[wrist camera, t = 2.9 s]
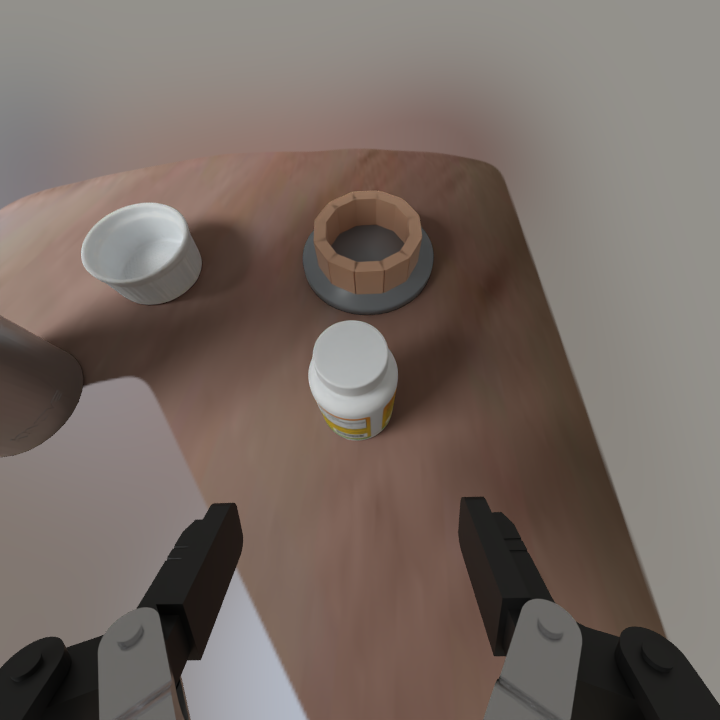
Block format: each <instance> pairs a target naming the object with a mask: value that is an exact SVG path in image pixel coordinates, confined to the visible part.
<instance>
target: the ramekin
mask: <svg viewBox="0 0 720 720" xmlns="http://www.w3.org/2000/svg"><path fill="white" fill-rule="evenodd" d="M81 258H82V262H83V265H84V267H85V268H86V270H87V271H88V272H89V273H90V274H91V275H92V276H94V277H95V278H97V279H99V280H100V281H102V282H104V283H106V284H108V285H109V286H110V287H112V288H113V289H115V290H116V291H117V292H118V293H120V294H121V295H122V296H124V297H125V298H127V299H129V300H131V301H133V302H136V303H139V304H146V305H155V304H161V303H165V302H168V301H171V300H173V299H175V298H177V297H179V296H181V295H182V294H184V293H185V292H186V291H187V290H189V289H190V288H191V287H192V286H193V284H194V283H195V282H196V280H197V279H198V277H199V274H200V272H201V267H202V260H201V256H200V253H199V250H198V248H197V246H196V244H195V242H194V240H193V238H192V236H191V234H190V230H189V227H188V224H187V222H186V220H185V218H184V217H183V215H182V214H181V213H180V212H179V211H177V210H176V209H174V208H172V207H170V206H168V205H164V204H159V203H139V204H134V205H130V206H126V207H123V208H121V209H118V210H116V211H114V212H112V213H110V214H109V215H107V216H105V217H104V218H103V219H101V220H100V221H99V222H98V223H97V224H96V225H95V226H94V227H93V228H92V229H91V230H90V232H89V233H88V234H87V236H86V238H85V240H84V242H83V245H82V249H81Z"/></svg>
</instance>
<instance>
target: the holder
mask: <svg viewBox="0 0 720 720" xmlns="http://www.w3.org/2000/svg"><path fill="white" fill-rule="evenodd" d="M432 265H433V248H432V244H431V242H430V239H429V237H428V235H427V234H426V232H425V231H424V230H423V228H422V227H421V224H420V216H419V215H418V214H417V213H416V212H415V211H414V209H413V208H412V207H411V206H410V205H409V204H408V203H407V202H406V201H405V200H404V199H402V198H399V197H397V196H394V195H391V194H388V193H385V192H382V191H379V192H378V190H376V191H356V192H353V193H352V192H350V193H348V194H346V195H344V196H341V197H339V198H337V199H335V200H333V201H331V202H329V203H328V204H327V205H326V206H325V208H324V209H323V210H322V211H321V213H320V214H319V215H318V217H317V218H316V219H315V221H314V230H313V232H312V233H311V234H310V236H309V238H308V240H307V242H306V244H305V247H304V251H303V266H304V270H305V274H306V277H307V280H308V283H309V285H310V286H311V288H312V290H313V291H314V292H315V293H316V295H317V296H318V297H319V298H321V299H322V300H323V301H324V302H326V303H327V304H328V305H330V306H332V307H334V308H336V309H339V310H341V311H344V312H348V313H352V314H359V315H375V314H382V313H387V312H390V311H393V310H396V309H398V308H400V307H402V306H404V305H406V304H408V303H409V302H411V301H412V300H413V299H414V298H416V297H417V296H418V295H419V293H420V292H421V291H422V290H423V289H424V287H425V286H426V284H427V282H428V280H429V277H430V273H431V270H432Z"/></svg>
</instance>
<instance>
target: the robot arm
mask: <svg viewBox="0 0 720 720" xmlns="http://www.w3.org/2000/svg"><path fill="white" fill-rule="evenodd" d="M82 388H83V374H82V369H81V367H80V365H79V363H78V361H77V360H76V359H75V358H74V357H73V356H72V355H71V354H69V353H67V352H66V351H64V350H62V349H60V348H58V347H57V346H55V345H53V344H51V343H49V342H47V341H46V340H44V339H42V338H40V337H38V336H36V335H35V334H33V333H31V332H29V331H28V330H26V329H24V328H22V327H20V326H19V325H17V324H15V323H13V322H11V321H9V320H8V319H6V318H4V317H2V316H0V457H7V456H14V455H17V454H20V453H23V452H26V451H29V450H31V449H32V448H34V447H36V446H38V445H40V444H42V443H43V442H44V441H46V440H47V439H49V438H50V437H51V436H53V434H55V433H56V432H57V431H58V430H59V429H60V428H61V427H62V426H63V425H64V424H65V422H66V421H67V420H68V418H69V417H70V416H71V415H72V413H73V411H74V409H75V408H76V406H77V404H78V402H79V399H80V396H81V393H82ZM458 534H459V543H460V548H461V552H462V555H463V558H464V561H465V564H466V568H467V571H468V574H469V577H470V581H471V584H472V587H473V590H474V593H475V597H476V600H477V603H478V606H479V610H480V613H481V616H482V619H483V622H484V626H485V629H486V632H487V635H488V639H489V642H490V645H491V648H492V651H493V655H494V656H506V660H505V663H504V666H503V669H502V672H501V675H500V677H499V679H497V681H496V683H495V686H494V689H493V692H492V695H491V698H490V701H489V704H488V707H487V710H486V713H485V716H484V719H483V720H720V705H719V703H718V702H717V701H716V699H715V698H714V696H713V695H712V694H711V692H710V691H709V689H708V688H707V686H706V685H705V684H704V682H703V681H702V679H701V678H700V677H699V675H698V674H697V672H696V671H695V670H694V668H693V667H692V665H691V664H690V662H689V661H688V660H687V658H686V657H685V656H684V654H683V653H682V652H681V651H680V650H679V649H678V648H677V647H676V646H675V645H674V644H672V643H671V642H670V641H669V640H667V639H666V638H664V637H663V636H661V635H660V634H658V633H656V632H654V631H651V630H649V629H646V628H642V627H629V628H626V629H625V630H623V632H622V633H621V635H620V637H617V636H614V635H611V634H607V633H604V632H601V631H597V630H594V629H591V628H588V627H585V626H583V625H581V624H579V623H577V622H576V621H575V620H574V619H573V618H572V616H571V615H570V614H569V613H568V612H567V611H566V610H564V609H563V608H562V607H560V606H559V605H557V604H556V603H555V602H554V600H553V599H552V597H551V595H550V593H549V591H548V589H547V587H546V585H545V583H544V581H543V579H542V578H541V576H540V574H539V572H538V570H537V568H536V566H535V564H534V562H533V560H532V558H531V556H530V554H529V553H528V552H527V549H526V547H525V545H524V543H523V541H521V537H520V535H519V533H518V531H517V529H516V527H515V525H514V524H513V523H512V522H511V521H510V520H509V519H508V518H507V517H506V516H505V515H504V514H503V513H502V512H493V513H492V512H491V510H490V508H489V506H488V504H487V501H486V499H485V498H484V497H462V498H461V502H460V515H459V529H458ZM242 547H243V533H242V529H241V524H240V519H239V514H238V510H237V506H236V504H235V503H214V504H212V505H211V506H210V508H209V510H208V511H207V513H206V515H205V517H204V519H203V520H195V521H194V522H193V523H192V524H191V525H190V526H189V527H188V528H186V529H185V531H183V533H182V534H181V536H180V537H179V539H178V541H177V542H176V544H175V546H174V549H172V551H171V552H170V554H169V556H168V558H167V561H165V563H164V564H163V566H162V567H161V569H160V571H159V572H158V574H157V576H156V577H155V579H154V581H153V582H152V585H151V586H150V587H149V589H148V591H147V592H146V594H145V596H144V597H143V599H142V601H141V602H140V604H139V606H138V607H137V609H135V610H133V611H130V612H128V613H127V614H125V615H123V616H122V617H121V618H119V619H118V620H117V621H116V622H115V623H113V624H112V625H111V627H110V628H109V629H108V630H107V631H106V633H105V634H104V635H102V636H100V637H97V638H94V639H91V640H88V641H85V642H82V643H79V644H76V645H73V646H70V647H67V648H66V647H65V645H64V643H63V641H62V640H61V639H60V638H58V637H46V638H43V639H39V640H37V641H35V642H33V643H31V644H29V645H27V646H26V647H24V648H23V649H21V650H20V651H19V652H17V653H16V654H15V655H13V657H11V658H10V659H9V660H8V661H7V662H6V663H5V664H4V665H3V666H2V667H1V668H0V720H191V719H190V714H189V710H188V706H187V700H186V696H185V692H184V687H183V682H182V678H181V674H182V671H183V669H184V667H185V664H186V662H187V660H201V658H202V655H203V653H204V650H205V648H206V645H207V642H208V640H209V637H210V634H211V632H212V629H213V626H214V624H215V621H216V618H217V616H218V613H219V611H220V608H221V605H222V602H223V600H224V597H225V595H226V592H227V589H228V587H229V584H230V581H231V579H232V576H233V574H234V571H235V568H236V566H237V563H238V560H239V558H240V555H241V552H242Z"/></svg>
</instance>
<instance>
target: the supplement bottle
mask: <svg viewBox="0 0 720 720" xmlns="http://www.w3.org/2000/svg"><path fill="white" fill-rule="evenodd" d="M308 377H309V385H310V388H311V391H312V394H313V396H314V398H315V400H316V402H317V404H318V406H319V408H320V410H321V412H322V414H323V416H324V418H325V420H326V422H327V424H328V425H329V427H330V428H331V429H332V430H333V431H334V432H335V433H337V434H338V435H340V436H341V437H344V438H346V439H350V440H365V439H369V438H372V437H374V436H375V435H377V434H378V433H380V432H381V431H382V430H383V429H384V428H385V427H386V425H387V424H388V422H389V420H390V418H391V415H392V411H393V405H394V399H395V394H396V389H397V382H398V368H397V364H396V361H395V358H394V356H393V354H392V353H391V351H390V350H389V349H388V346H387V343H386V340H385V338H384V337H383V335H382V334H381V333H380V332H379V331H378V330H377V329H376V328H375V327H373V326H372V325H370V324H368V323H365V322H362V321H356V320H347V321H342V322H338V323H336V324H333V325H332V326H330V327H328V328H327V329H326V330H325V331H324V332H323V333H322V334H321V335H320V336H319V337H318V339H317V341H316V343H315V346H314V349H313V358H312V360H311V363H310V366H309V374H308Z"/></svg>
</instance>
